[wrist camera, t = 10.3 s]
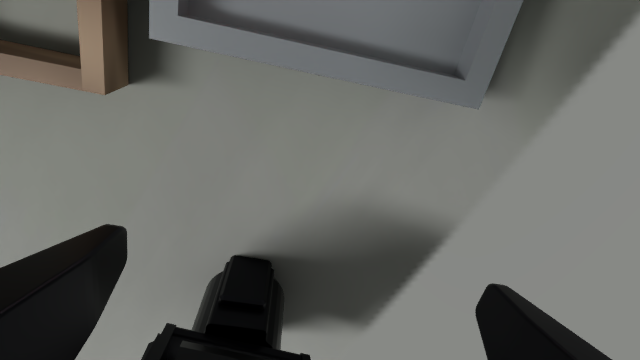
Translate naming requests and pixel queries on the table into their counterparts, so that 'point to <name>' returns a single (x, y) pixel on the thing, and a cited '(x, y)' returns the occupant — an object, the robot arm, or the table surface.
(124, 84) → the square frame
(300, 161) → the table surface
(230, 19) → the tray
